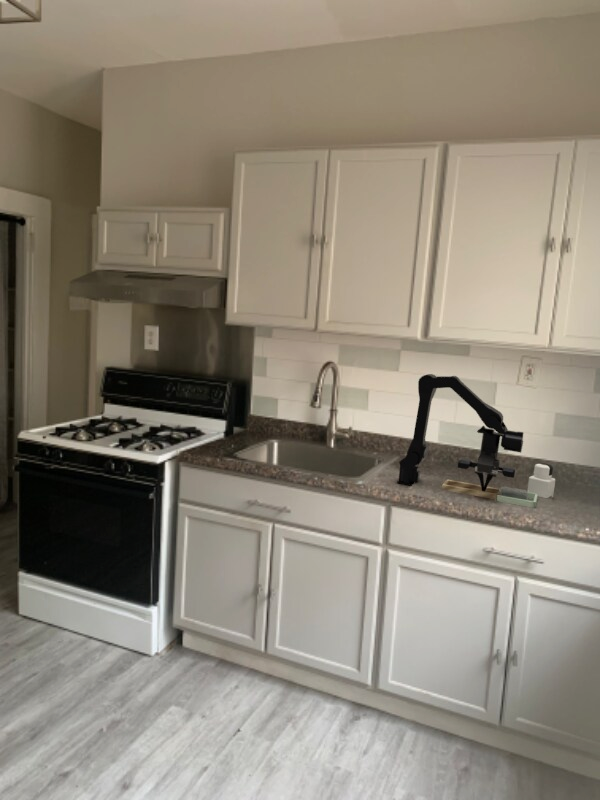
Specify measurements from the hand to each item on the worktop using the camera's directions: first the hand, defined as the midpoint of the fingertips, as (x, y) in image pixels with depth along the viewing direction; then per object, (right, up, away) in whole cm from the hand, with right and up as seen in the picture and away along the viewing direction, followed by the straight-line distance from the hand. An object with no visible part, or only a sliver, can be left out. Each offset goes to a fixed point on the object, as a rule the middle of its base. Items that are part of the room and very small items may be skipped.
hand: (483, 491), depth 216 cm
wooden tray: (-4, -1, +2) cm, 5 cm away
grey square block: (+11, -3, -4) cm, 12 cm away
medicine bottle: (+22, -3, +6) cm, 23 cm away
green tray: (+10, -3, -4) cm, 11 cm away
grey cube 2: (+7, -2, -3) cm, 8 cm away
